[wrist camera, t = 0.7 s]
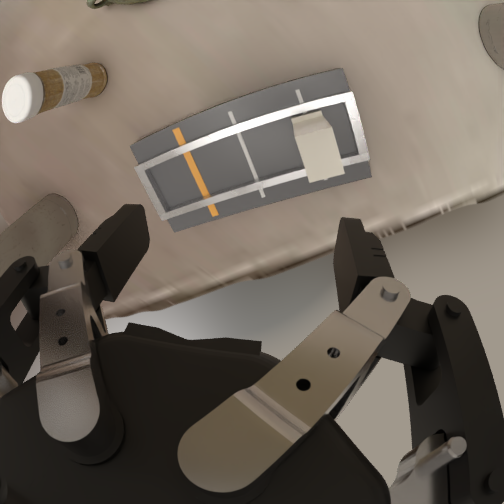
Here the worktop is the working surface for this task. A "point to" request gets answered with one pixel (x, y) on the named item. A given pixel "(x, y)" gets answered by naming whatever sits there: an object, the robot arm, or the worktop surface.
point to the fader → (317, 146)
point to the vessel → (109, 0)
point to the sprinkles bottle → (50, 89)
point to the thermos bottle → (39, 232)
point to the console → (248, 151)
